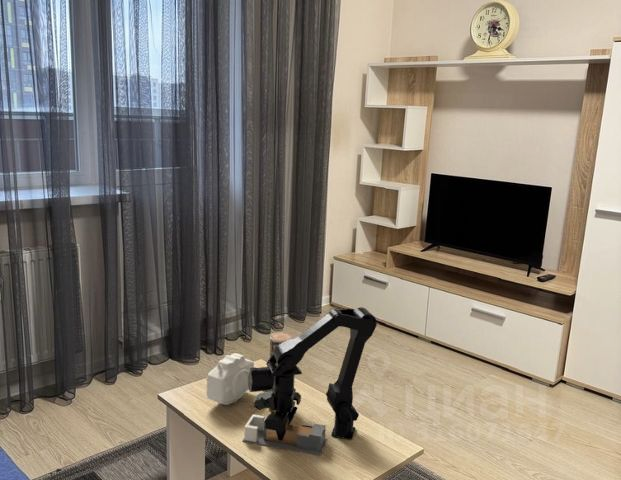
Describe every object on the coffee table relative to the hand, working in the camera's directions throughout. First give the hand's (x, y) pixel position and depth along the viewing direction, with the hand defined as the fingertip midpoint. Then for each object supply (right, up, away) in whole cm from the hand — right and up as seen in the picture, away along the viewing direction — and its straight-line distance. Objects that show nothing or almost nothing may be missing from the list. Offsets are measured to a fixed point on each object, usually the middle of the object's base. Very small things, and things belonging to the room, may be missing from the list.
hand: (282, 436), depth 173 cm
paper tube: (-2, +3, +18) cm, 19 cm away
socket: (-8, 0, +2) cm, 8 cm away
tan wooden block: (+2, -1, 0) cm, 3 cm away
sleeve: (+8, -2, -2) cm, 9 cm away
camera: (-18, +4, +22) cm, 28 cm away
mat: (+1, -1, 0) cm, 2 cm away
